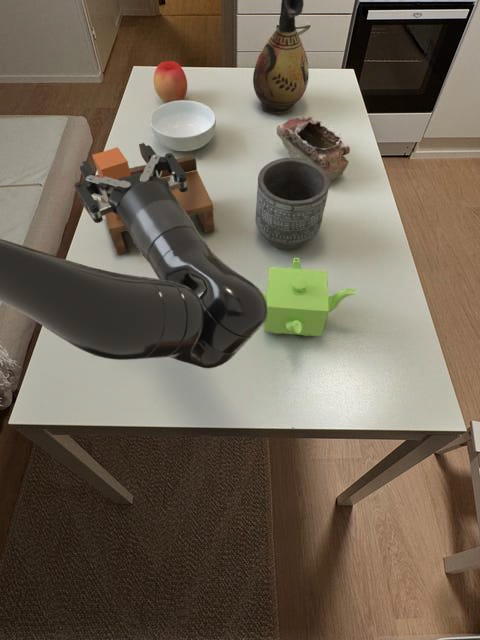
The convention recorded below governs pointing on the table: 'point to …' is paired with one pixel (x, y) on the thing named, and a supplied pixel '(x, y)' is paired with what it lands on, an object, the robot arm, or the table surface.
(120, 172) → the carton
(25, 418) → the table surface
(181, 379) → the table surface
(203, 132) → the cereal bowl
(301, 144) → the decorative box
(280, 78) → the ceramic jug
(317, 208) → the planter
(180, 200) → the shelf
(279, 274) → the kettle
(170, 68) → the apple
